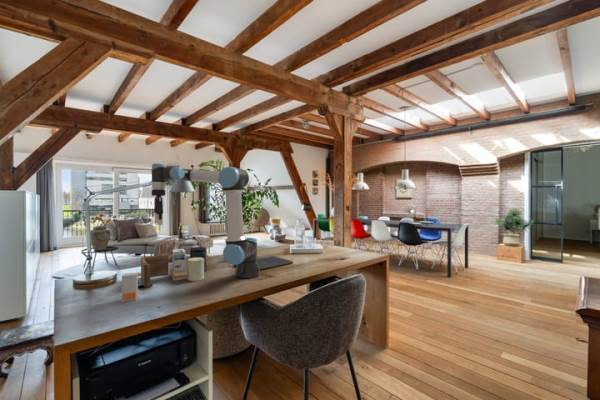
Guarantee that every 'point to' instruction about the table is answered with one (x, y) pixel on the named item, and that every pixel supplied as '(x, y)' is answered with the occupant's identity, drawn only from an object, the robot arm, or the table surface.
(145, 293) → the table surface
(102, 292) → the table surface
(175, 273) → the birch offcut
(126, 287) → the skincare box
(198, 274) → the can
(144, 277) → the walnut rack
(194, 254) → the storage jar
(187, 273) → the oak offcut
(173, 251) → the light bulb box
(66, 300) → the table surface
